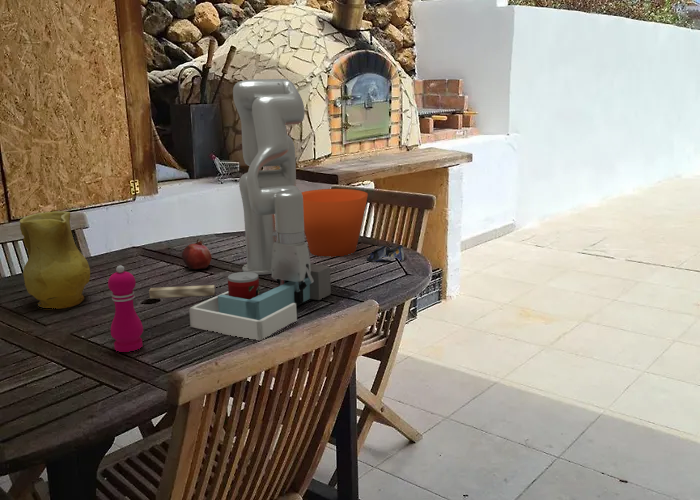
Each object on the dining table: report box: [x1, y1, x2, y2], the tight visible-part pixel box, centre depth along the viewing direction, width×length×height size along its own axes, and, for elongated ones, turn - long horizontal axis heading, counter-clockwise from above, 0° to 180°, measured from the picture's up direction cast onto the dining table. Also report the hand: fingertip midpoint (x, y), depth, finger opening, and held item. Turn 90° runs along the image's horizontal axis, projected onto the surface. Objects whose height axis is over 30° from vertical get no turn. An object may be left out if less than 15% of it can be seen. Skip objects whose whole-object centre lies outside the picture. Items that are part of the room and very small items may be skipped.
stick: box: [148, 284, 216, 299], centre depth 200 cm, size 18×3×3 cm, turn 96°
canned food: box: [227, 271, 261, 300], centre depth 181 cm, size 8×8×11 cm
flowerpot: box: [301, 188, 369, 258], centre depth 243 cm, size 25×25×20 cm
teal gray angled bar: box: [217, 263, 332, 320], centre depth 188 cm, size 30×15×8 cm, turn 149°
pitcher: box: [19, 210, 91, 310], centre depth 194 cm, size 17×19×25 cm
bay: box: [188, 290, 298, 340], centre depth 176 cm, size 15×22×5 cm
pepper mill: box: [107, 265, 144, 353], centre depth 161 cm, size 7×7×20 cm
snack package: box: [366, 244, 405, 262], centre depth 232 cm, size 12×6×12 cm
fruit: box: [181, 238, 213, 271], centre depth 226 cm, size 9×10×10 cm
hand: (293, 302), depth 190 cm, fingers closed on teal gray angled bar, 3 cm apart
